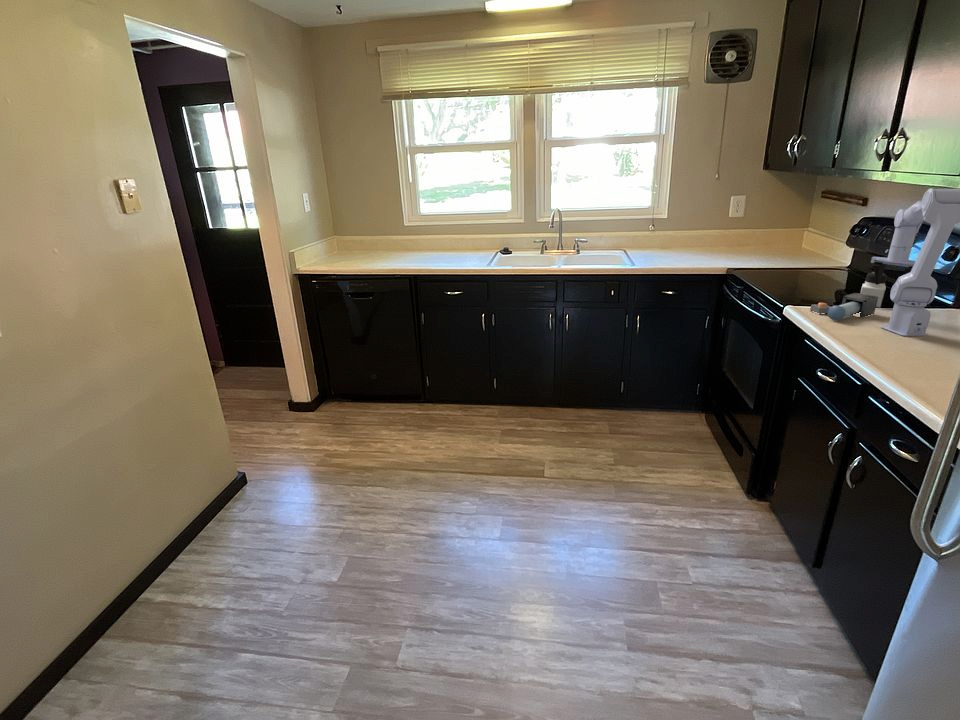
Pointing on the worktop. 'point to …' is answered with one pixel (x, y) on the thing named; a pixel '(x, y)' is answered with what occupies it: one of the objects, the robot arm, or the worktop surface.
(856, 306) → the cylinder
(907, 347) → the worktop surface
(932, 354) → the worktop surface
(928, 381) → the worktop surface
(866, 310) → the block
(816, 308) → the block
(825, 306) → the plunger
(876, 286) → the medicine bottle
